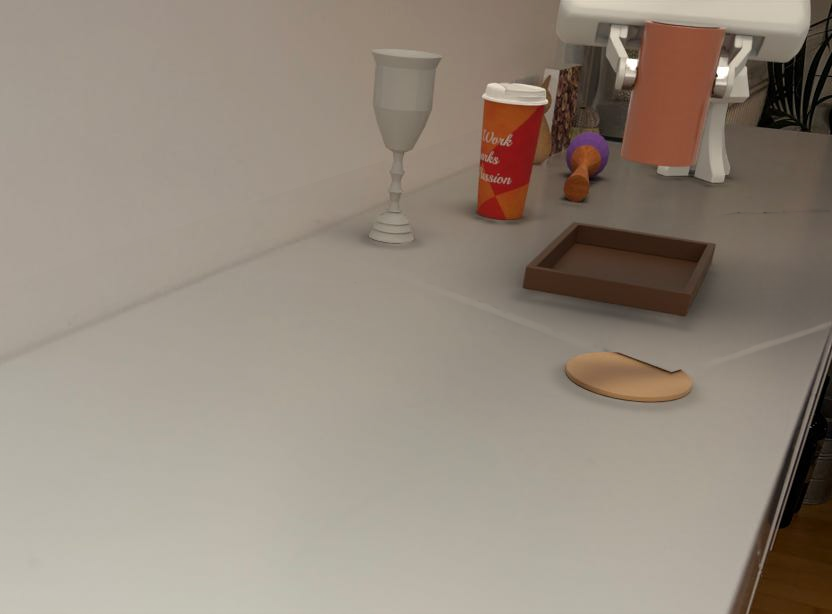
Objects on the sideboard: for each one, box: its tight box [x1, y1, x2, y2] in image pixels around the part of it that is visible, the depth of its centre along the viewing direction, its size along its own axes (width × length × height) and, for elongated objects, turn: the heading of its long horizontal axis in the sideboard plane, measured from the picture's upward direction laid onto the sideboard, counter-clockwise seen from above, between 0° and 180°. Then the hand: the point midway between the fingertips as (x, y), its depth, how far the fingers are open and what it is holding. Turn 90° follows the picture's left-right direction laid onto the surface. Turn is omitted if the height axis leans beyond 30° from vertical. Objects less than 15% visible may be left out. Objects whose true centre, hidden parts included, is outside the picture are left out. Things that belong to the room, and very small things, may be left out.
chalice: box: [368, 48, 443, 244], centre depth 115 cm, size 7×7×18 cm
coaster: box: [565, 351, 693, 403], centre depth 87 cm, size 10×10×1 cm
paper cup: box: [476, 82, 549, 220], centre depth 129 cm, size 8×8×14 cm
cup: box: [619, 19, 727, 167], centre depth 89 cm, size 6×6×10 cm
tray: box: [522, 221, 717, 317], centre depth 110 cm, size 22×16×3 cm
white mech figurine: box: [656, 57, 750, 184], centre depth 157 cm, size 12×13×18 cm
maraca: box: [563, 131, 610, 203], centre depth 148 cm, size 6×6×20 cm
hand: (672, 89), depth 88 cm, fingers closed on cup, 6 cm apart
